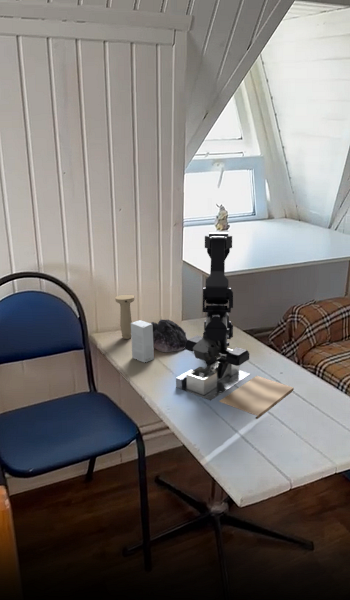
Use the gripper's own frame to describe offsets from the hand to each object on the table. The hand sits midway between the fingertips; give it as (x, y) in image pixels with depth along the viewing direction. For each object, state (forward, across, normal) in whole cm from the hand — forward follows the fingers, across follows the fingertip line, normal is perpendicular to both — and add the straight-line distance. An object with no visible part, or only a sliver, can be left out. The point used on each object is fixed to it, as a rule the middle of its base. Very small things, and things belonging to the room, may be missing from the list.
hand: (216, 376), depth 159 cm
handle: (+2, -44, +8) cm, 45 cm away
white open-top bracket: (+1, 0, -1) cm, 1 cm away
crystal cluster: (+2, -28, +12) cm, 31 cm away
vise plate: (+2, 0, -1) cm, 2 cm away
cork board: (+2, +14, 0) cm, 14 cm away
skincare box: (+2, -28, -1) cm, 28 cm away
